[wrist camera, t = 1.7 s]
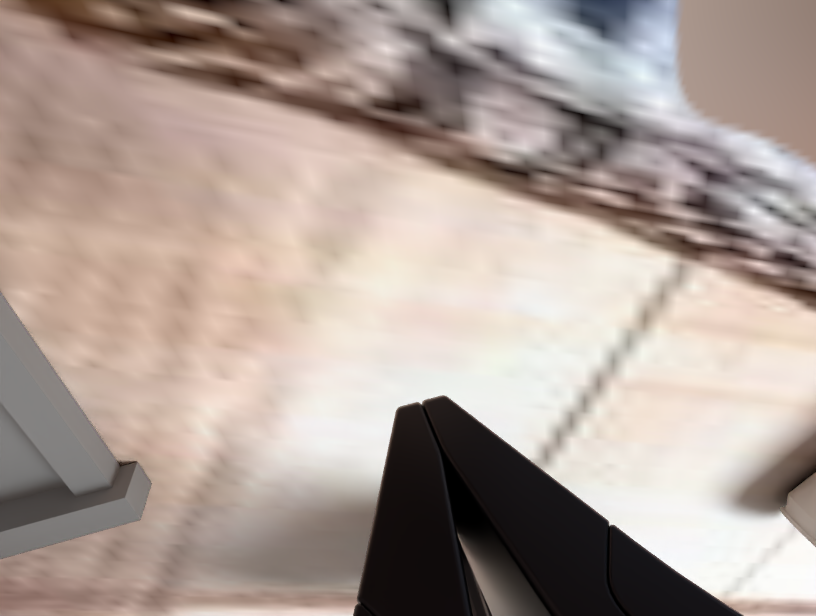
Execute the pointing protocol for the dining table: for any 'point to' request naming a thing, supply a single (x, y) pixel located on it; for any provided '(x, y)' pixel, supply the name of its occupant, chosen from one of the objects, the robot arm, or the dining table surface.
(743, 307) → the dining table surface
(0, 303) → the tray
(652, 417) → the dining table surface
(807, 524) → the beverage can
